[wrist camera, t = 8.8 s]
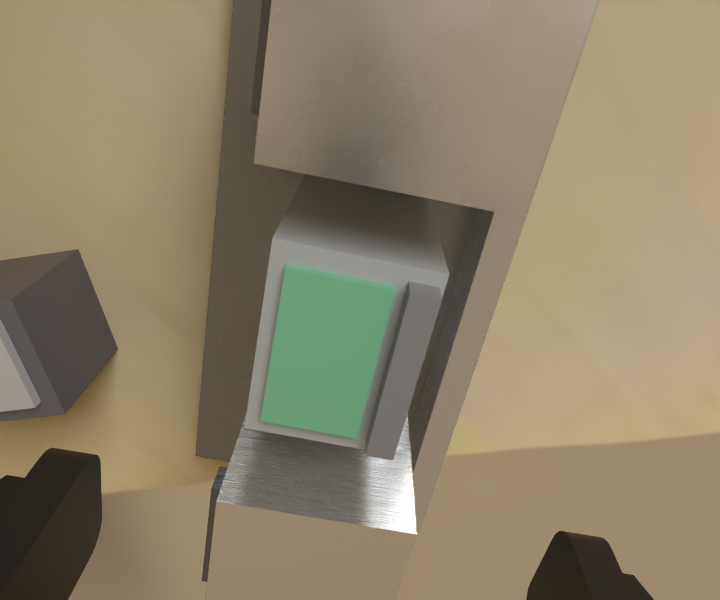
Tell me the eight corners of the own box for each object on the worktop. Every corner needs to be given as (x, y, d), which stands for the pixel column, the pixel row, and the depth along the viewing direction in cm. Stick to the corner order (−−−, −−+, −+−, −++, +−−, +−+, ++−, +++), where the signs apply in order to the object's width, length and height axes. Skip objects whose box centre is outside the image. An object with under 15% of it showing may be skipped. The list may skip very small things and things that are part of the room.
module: (308, 165, 21) (267, 248, 13) (425, 190, 21) (452, 285, 13) (285, 305, 24) (239, 443, 16) (389, 326, 24) (394, 472, 16)
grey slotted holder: (254, -139, 18) (124, -312, 9) (582, -63, 19) (782, -150, 9) (202, 439, 28) (118, 635, 19) (414, 475, 29) (430, 682, 20)
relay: (-28, 264, 25) (-128, 322, 20) (79, 248, 24) (3, 304, 19) (19, 360, 27) (-60, 434, 22) (118, 347, 26) (59, 420, 21)
